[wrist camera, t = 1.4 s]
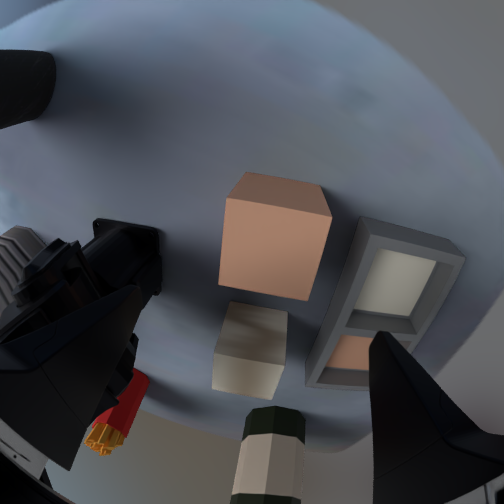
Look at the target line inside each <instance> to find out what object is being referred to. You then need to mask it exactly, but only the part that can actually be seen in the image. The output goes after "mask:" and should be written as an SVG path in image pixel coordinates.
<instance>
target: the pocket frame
mask: <svg viewBox="0 0 504 504" xmlns="http://www.w3.org/2000/svg"><path fill="white" fill-rule="evenodd" d="M465 259H466V257H465V256H464V255H463V254H462V253H461V252H460V251H459V250H458V249H457V248H456V247H455V246H454V245H453V244H452V243H451V241H450V240H448V239H445V238H441V237H438V236H434V235H431V234H427V233H424V232H420V231H416V230H413V229H409V228H405V227H402V226H398V225H394V224H390V223H386V222H382V221H378V220H374V219H370V218H365V217H361V216H360V218H359V221H358V224H357V228H356V231H355V234H354V237H353V240H352V243H351V247H350V250H349V253H348V256H347V259H346V262H345V264H344V267H343V270H342V273H341V276H340V279H339V281H338V284H337V287H336V290H335V292H334V295H333V298H332V300H331V303H330V305H329V308H328V310H327V313H326V316H325V318H324V320H323V323H322V325H321V328H320V330H319V333H318V335H317V337H316V340H315V342H314V344H313V347H312V349H311V351H310V353H309V356H308V358H307V360H306V362H305V387H313V388H324V389H337V390H354V391H369V346H370V343H371V342H372V340H373V338H374V337H375V335H376V333H377V332H378V331H379V330H384V331H389V332H390V333H391V334H392V335H393V336H394V337H395V338H396V339H397V341H398V342H399V343H400V344H401V345H402V346H403V347H404V348H405V349H406V350H407V351H408V352H409V353H410V354H411V353H412V352H413V350H414V349H415V347H416V346H417V344H418V343H419V341H420V340H421V338H422V337H423V335H424V334H425V332H426V331H427V329H428V328H429V326H430V325H431V323H432V321H433V320H434V318H435V316H436V315H437V313H438V311H439V310H440V308H441V306H442V304H443V303H444V301H445V299H446V297H447V295H448V294H449V292H450V290H451V288H452V286H453V284H454V282H455V280H456V278H457V276H458V274H459V272H460V270H461V268H462V266H463V264H464V262H465Z"/></svg>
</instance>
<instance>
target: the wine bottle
mask: <svg viewBox="0 0 504 504" xmlns="http://www.w3.org/2000/svg"><path fill="white" fill-rule="evenodd" d="M305 421H306V420H305V418H304V417H303V416H302V415H301V414H300V412H299V411H298V410H293V409H288V408H283V407H278V406H271V407H264V408H257V409H253V410H252V411H251V412H250V413H249V415H248V416H247V417H246V422H245V427H244V433H243V438H242V444H241V449H240V455H239V460H238V466H237V470H236V475H235V481H234V486H233V491H232V496H231V501H230V504H301V495H302V482H303V467H304V448H305Z"/></svg>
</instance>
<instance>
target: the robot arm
mask: <svg viewBox="0 0 504 504" xmlns="http://www.w3.org/2000/svg"><path fill="white" fill-rule="evenodd" d="M97 223H98V224H99V226H98V224H97ZM93 231H94V239H92V240H91V241H90V242H89V243H87V244H86V245H85V246H84V247H82V248H81V245H80V243H79V241H78V240H77V241H74V242H72V243H67V242H66V243H65V242H64V241H62V240H61V239H59V238H58V239H56V240H54V241H53V242H51V243H50V244H49V245H47V246H46V247H45V248H44V249H42V250H41V251H40V252H39V253H37V254H36V255H35V256H34V257H33V258H32V259H31V260H30V261H29V262H28V264H27V265H26V266H25V267H24V268H23V270H22V276H21V279H20V280H19V282H18V284H17V285H16V287H15V288H14V290H13V291H12V293H11V296H12V298H13V299H14V301H13V302H11V303H10V304H9V305H8V306H7V307H6V308H5V309H4V310H3V311H2V313H1V317H0V504H75V503H73V502H72V501H70V500H69V499H67V498H65V497H64V496H62V495H60V494H59V493H57V492H56V491H54V490H53V488H52V485H51V483H50V480H49V477H48V475H47V472H46V469H45V465H46V463H47V461H48V459H50V460H52V461H53V462H55V463H56V464H58V465H59V466H61V467H63V468H64V469H66V470H68V471H70V469H71V467H72V464H73V461H74V459H75V456H76V454H77V452H78V449H79V447H80V444H81V442H82V439H83V437H84V434H85V432H86V430H87V428H88V427H89V425H90V424H91V423H92V422H93V421H94V420H95V419H96V418H97V417H98V416H100V415H101V414H102V413H104V412H105V411H106V410H108V409H110V408H112V407H115V406H117V405H118V404H119V400H118V399H117V397H119V396H120V395H121V394H122V393H123V392H124V391H125V390H126V388H127V387H128V385H129V384H130V382H131V380H132V379H133V376H134V372H133V367H134V362H135V358H136V357H135V356H136V351H137V345H138V340H139V339H138V337H137V336H136V334H135V333H133V330H134V327H135V325H136V322H137V320H138V317H139V315H140V312H141V310H142V309H144V307H145V306H146V304H147V303H148V301H149V300H150V298H151V297H152V295H155V296H157V295H159V294H160V292H161V282H162V280H163V279H162V260H161V255H160V254H159V234H158V231H157V230H156V229H155V228H152V227H146V226H140V225H135V224H129V223H123V222H118V221H112V220H106V219H100V218H97V219H96V220H94V221H93ZM150 233H152V234H153V235H154V236H152V235H151V234H150ZM156 290H157V291H156ZM369 392H370V402H371V415H372V431H373V453H374V454H373V458H374V480H373V504H504V435H498V434H491V433H487V432H485V431H483V430H482V429H480V428H479V427H478V426H477V425H476V424H475V423H474V422H473V421H472V420H471V419H470V418H469V417H468V416H467V415H466V414H465V413H464V412H463V411H462V410H461V409H460V408H459V407H458V406H457V405H456V404H455V403H454V402H453V401H452V400H451V399H450V398H449V397H448V395H447V394H446V393H445V392H444V391H443V390H442V389H441V387H439V385H438V384H437V383H436V382H435V381H434V380H433V378H432V377H431V376H430V375H429V374H428V373H427V372H426V371H425V370H424V368H423V367H422V366H421V365H420V364H419V363H418V362H417V361H416V360H415V359H414V358H413V357H412V355H411V354H410V353H409V352H408V351H407V350H406V349H405V348H404V347H403V346H402V345H401V344H400V343H399V342H398V341H397V339H396V338H395V337H394V336H393V335H392V334H391V333H390V332H389V331H384V330H379V331H378V332H377V333H376V335H375V337H374V338H373V340H372V342H371V343H370V346H369Z"/></svg>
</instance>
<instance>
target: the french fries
mask: <svg viewBox="0 0 504 504" xmlns="http://www.w3.org/2000/svg"><path fill="white" fill-rule="evenodd" d="M133 372H134V376H133V379H132V380H131V382H130V384H129V385H128V387H127V388H126V390H125V391H124V392H123V393H122V394H121V395H120V396H119V397H117V399H118V400H119V404H118V405H117V406H115V407H112V408H110V409H108V410H106V411H105V412H104V413H102V414H101V415H100V416H98V417H97V418H96V420H95V422H94V423H93V425H92V428H93V430H92V431H91V433H90V434H89V435H88V437H87V438H86V439H85V442H84V444H87V445H86V446H89V447H91V448H90V449H92V450H94V451H95V452H100V454H99V456H104V455H110V454H111V451H112V450H113V449H114V448H116V447H118V446H122V444H123V441H124V438H126V437H127V435H128V433H129V430H130V428H131V425H132V423H133V421H134V418H135V416H136V413H137V411H138V409H139V406H140V404H141V402H142V399H143V397H144V395H145V392H146V390H147V388H148V385H149V383H150V381H149V379H148V378H147V376H146V375H145V374H143V373H141V372H140V371H138V370H137V369H135V368H133Z"/></svg>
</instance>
